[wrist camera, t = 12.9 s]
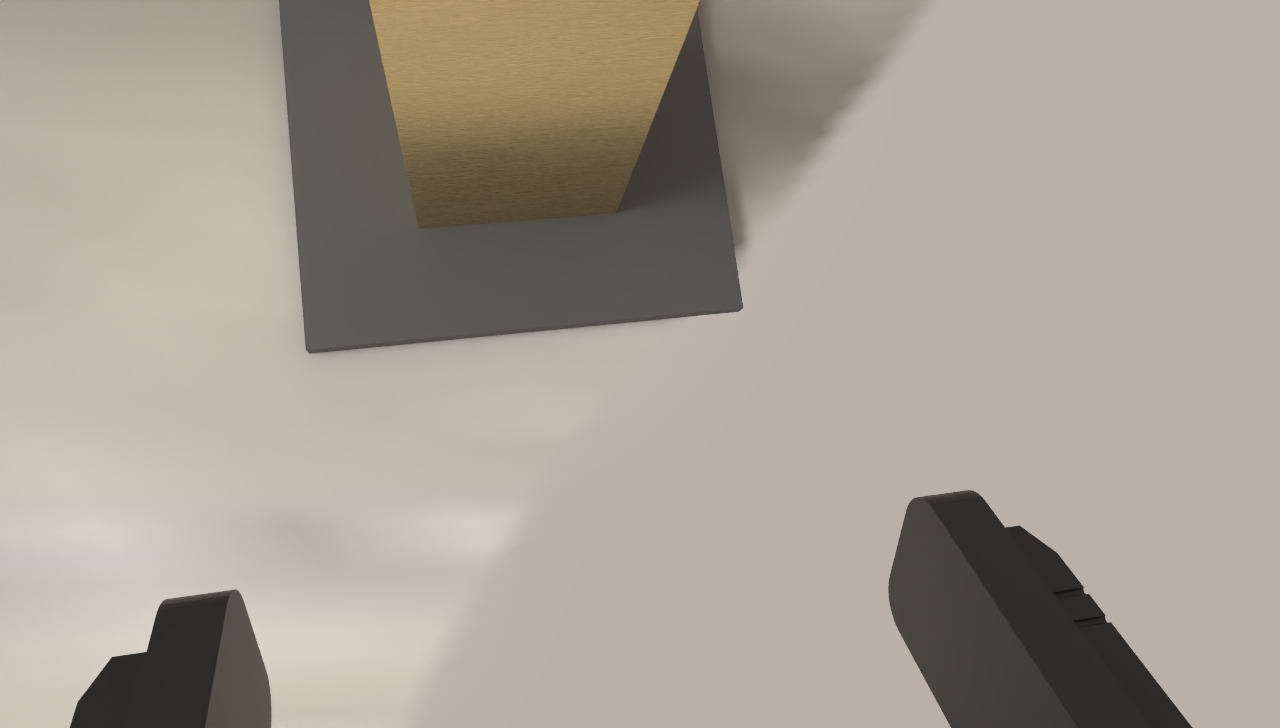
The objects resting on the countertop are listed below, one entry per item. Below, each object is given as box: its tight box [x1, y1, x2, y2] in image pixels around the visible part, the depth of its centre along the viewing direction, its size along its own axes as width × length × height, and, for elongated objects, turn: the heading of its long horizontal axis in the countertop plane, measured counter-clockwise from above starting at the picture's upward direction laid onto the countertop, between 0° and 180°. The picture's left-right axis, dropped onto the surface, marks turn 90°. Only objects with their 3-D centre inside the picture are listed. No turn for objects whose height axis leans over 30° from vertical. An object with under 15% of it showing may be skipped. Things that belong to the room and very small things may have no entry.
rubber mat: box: [279, 0, 743, 353], centre depth 23 cm, size 10×10×1 cm
